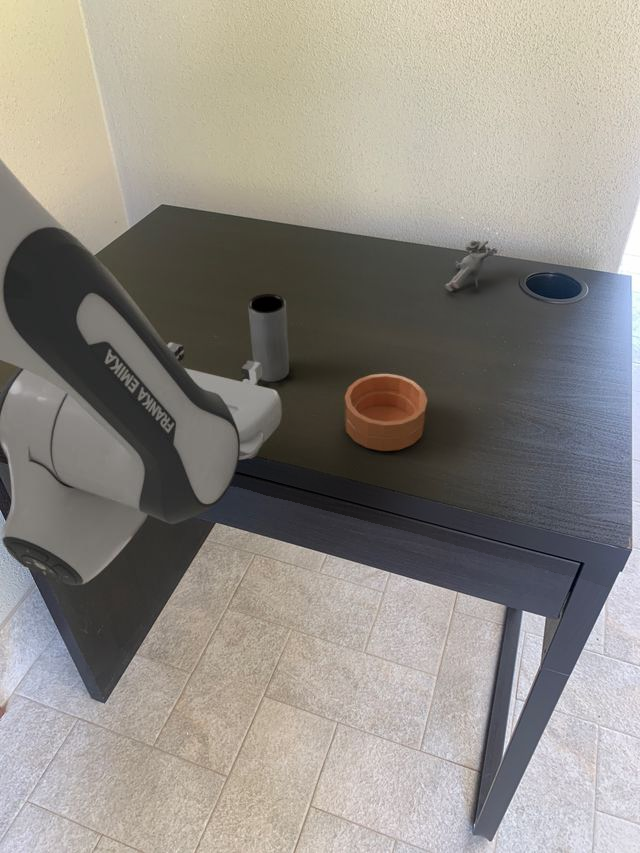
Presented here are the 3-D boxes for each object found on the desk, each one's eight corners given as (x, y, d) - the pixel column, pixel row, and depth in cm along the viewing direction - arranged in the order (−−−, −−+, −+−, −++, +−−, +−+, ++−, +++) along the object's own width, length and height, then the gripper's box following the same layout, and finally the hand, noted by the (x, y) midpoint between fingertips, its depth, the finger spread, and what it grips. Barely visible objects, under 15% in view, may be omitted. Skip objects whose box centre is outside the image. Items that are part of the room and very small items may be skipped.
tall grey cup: (248, 377, 88) (241, 308, 81) (263, 358, 91) (258, 290, 84) (280, 385, 87) (276, 315, 80) (294, 365, 90) (291, 297, 83)
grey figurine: (421, 281, 106) (453, 243, 109) (445, 309, 108) (477, 270, 111) (458, 264, 97) (492, 223, 100) (484, 295, 99) (517, 254, 101)
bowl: (394, 466, 75) (396, 436, 72) (329, 432, 80) (328, 402, 77) (438, 423, 81) (442, 393, 78) (374, 393, 85) (376, 364, 82)
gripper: (245, 439, 59) (304, 353, 69) (51, 388, 65) (131, 314, 75) (250, 489, 64) (306, 401, 73) (67, 437, 69) (141, 361, 79)
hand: (216, 357), depth 74 cm, fingers open, 8 cm apart
